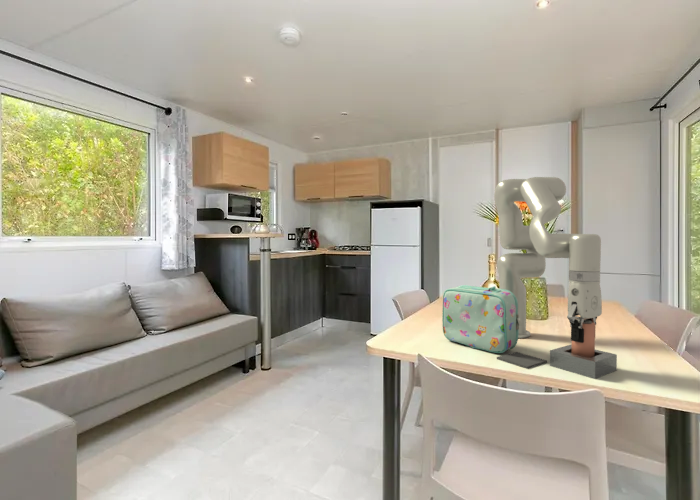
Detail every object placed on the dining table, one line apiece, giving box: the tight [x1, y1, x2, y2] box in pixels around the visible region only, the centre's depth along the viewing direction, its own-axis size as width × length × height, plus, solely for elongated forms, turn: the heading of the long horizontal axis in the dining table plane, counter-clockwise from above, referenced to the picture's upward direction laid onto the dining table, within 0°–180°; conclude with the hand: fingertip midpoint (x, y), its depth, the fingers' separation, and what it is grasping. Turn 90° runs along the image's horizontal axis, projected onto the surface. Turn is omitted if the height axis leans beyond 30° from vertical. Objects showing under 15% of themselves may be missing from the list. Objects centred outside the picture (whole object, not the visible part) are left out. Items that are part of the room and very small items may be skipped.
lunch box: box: [441, 284, 521, 354], centre depth 125 cm, size 27×10×21 cm, turn 37°
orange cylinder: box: [571, 319, 596, 358], centre depth 104 cm, size 6×6×12 cm
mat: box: [496, 351, 548, 369], centre depth 110 cm, size 10×10×1 cm
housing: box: [549, 343, 618, 380], centre depth 104 cm, size 12×12×4 cm
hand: (583, 339), depth 104 cm, fingers closed on orange cylinder, 5 cm apart
